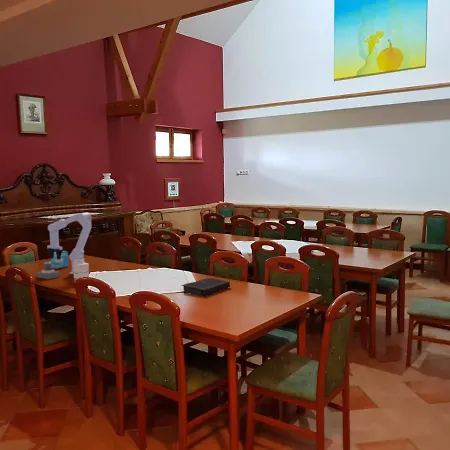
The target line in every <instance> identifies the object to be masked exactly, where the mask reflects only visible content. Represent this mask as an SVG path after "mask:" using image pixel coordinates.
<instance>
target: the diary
mask: <svg viewBox="0 0 450 450" xmlns="http://www.w3.org/2000/svg"><path fill="white" fill-rule="evenodd" d="M180 286H181V287H183V292H185V293H184V294H186V293H191V294H190V295H195V294H197V295H196V296H201V295H202V296H203V297H204V296H205V297H208V296H210V294H211V295H213V294H212V293H214V294H216V293H215V292H217V293H219V292H221V291H220V290H222V291H224V290H223V289H225V290H227V289H226V288H228V287H230V288H231V283H230V280H229V281H228V280H224V279H223V280H222V279H218V278H212V277H206V278H202V279H200V280H196V281H191V282H188V283H185V284H181V285H180ZM228 289H229V288H228ZM218 291H219V292H218ZM207 295H208V296H207Z"/></svg>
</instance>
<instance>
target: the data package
mask: <svg viewBox="0 0 450 450" xmlns="http://www.w3.org/2000/svg"><path fill="white" fill-rule="evenodd" d="M50 261H51V266H52V269H54V270H56V269H61V268H67V267H69V252H68V251H66V250H63V252H62V254H61V258H60V259H59V260H57V255H56V252H55V251H54V258H52V259H51V258H50Z"/></svg>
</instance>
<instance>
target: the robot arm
mask: <svg viewBox="0 0 450 450" xmlns="http://www.w3.org/2000/svg"><path fill="white" fill-rule="evenodd" d="M92 219H93V218H92V215H91V214H90V213H89V212H82V213H81V212H80V213H77V214H73V215H72V216H70V217H68V218H66V219H64V218H60V219H59V220H58V221H54V222H53V223H50V224H48V225H47V231H49V241H50V243H49V245H47V249H46V252H47V253H48V255H49V257H50V260H51V259H52V258H54V252H56V255H57V260H59V259H60V258H61V254H62V252H63V251H64V249H63V246H60V241H59V238H60V237H59V230H61V229H64V228H66V227H67V226H68V224H71V223H73V222H78V223H79V224H80V225H81V226H82V230H81V231H80V234H79V237H78V240H77V242H76V245H75V248H73V249H72V251H71V253H70V254H69V255H68V259H69V260H70V261H71V272H69V274H71V275H74V260H77V259H83V258H84V256H85V254H84V253H85V250H84V247H85V245H86V243H87V240H88V238H89V235H90V232H91V229H92V226H93V225H92ZM77 262H81V261H80V260H79V261H77Z"/></svg>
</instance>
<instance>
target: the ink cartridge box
mask: <svg viewBox="0 0 450 450" xmlns="http://www.w3.org/2000/svg"><path fill="white" fill-rule="evenodd" d="M79 260H80V261H81V262H77V261H79ZM89 268H90V265H89V263H88V262H85V258H84V257H83V258H82V259H77V260H74V274H73V282H74V283H76V282H75V281H76V280H77V279H79V278H83V277H89V278H90V271H89V270H90V269H89Z"/></svg>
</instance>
